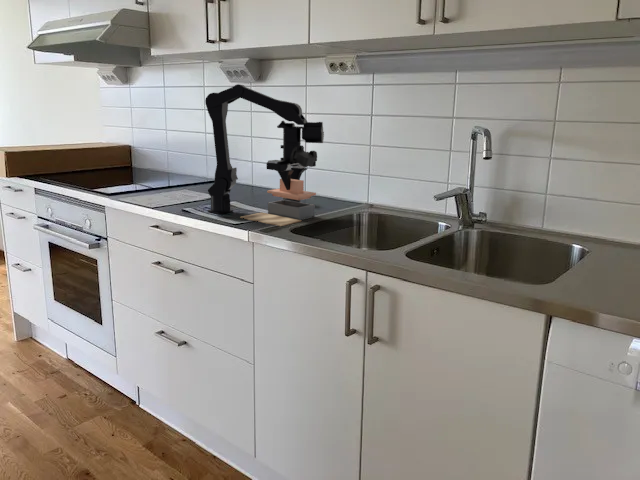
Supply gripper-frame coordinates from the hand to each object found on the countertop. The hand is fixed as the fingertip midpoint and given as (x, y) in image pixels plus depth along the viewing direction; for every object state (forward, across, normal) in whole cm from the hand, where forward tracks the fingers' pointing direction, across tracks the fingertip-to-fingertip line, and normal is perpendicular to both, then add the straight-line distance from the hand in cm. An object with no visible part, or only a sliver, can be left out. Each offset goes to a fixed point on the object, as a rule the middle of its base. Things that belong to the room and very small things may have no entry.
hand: (291, 189), depth 186 cm
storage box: (+9, 0, 0) cm, 9 cm away
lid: (+2, 0, 0) cm, 2 cm away
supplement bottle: (+9, +17, +15) cm, 24 cm away
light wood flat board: (+9, -10, 0) cm, 13 cm away
